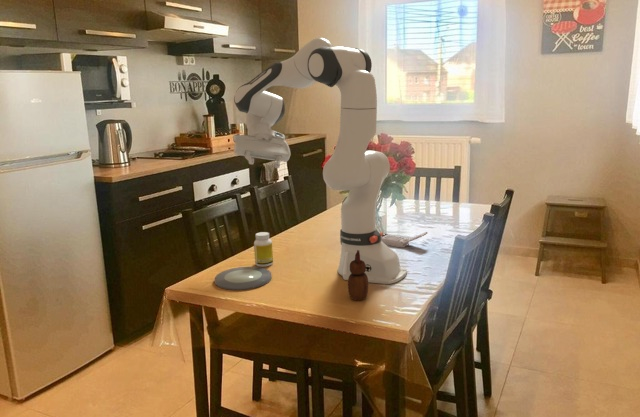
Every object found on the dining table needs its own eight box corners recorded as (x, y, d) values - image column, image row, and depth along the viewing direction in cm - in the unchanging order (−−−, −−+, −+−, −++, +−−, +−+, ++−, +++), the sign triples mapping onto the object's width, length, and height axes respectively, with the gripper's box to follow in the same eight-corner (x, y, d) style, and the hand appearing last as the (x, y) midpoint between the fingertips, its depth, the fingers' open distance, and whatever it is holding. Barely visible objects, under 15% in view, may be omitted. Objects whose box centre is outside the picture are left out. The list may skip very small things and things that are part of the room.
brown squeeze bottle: (367, 303, 149) (366, 252, 146) (346, 302, 150) (345, 251, 147) (369, 293, 156) (368, 244, 152) (350, 293, 157) (348, 244, 154)
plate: (282, 274, 174) (282, 271, 174) (247, 294, 159) (247, 289, 159) (239, 267, 183) (239, 263, 183) (203, 284, 168) (202, 280, 168)
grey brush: (422, 235, 192) (361, 227, 206) (421, 251, 193) (361, 242, 207) (428, 231, 197) (368, 223, 211) (428, 247, 198) (368, 238, 212)
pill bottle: (276, 264, 185) (275, 233, 182) (262, 268, 181) (260, 237, 178) (266, 260, 189) (264, 230, 187) (251, 264, 186) (249, 234, 183)
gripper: (234, 127, 188) (238, 154, 180) (289, 135, 196) (294, 162, 188) (230, 140, 193) (233, 167, 184) (283, 148, 200) (288, 174, 192)
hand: (264, 164), depth 186 cm, fingers open, 8 cm apart
